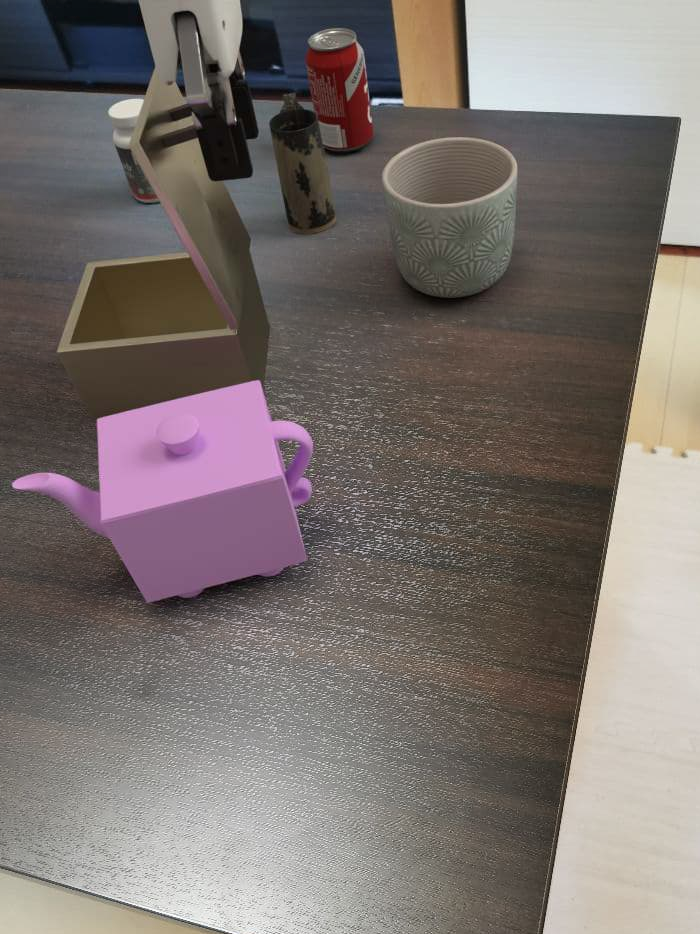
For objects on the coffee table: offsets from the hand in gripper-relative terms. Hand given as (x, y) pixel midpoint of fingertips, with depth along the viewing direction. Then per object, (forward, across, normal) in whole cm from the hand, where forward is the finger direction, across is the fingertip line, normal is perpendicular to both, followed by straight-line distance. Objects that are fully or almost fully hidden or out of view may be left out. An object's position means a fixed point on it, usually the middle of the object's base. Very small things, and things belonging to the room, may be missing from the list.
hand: (235, 155), depth 63 cm
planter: (+20, -12, +16) cm, 29 cm away
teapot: (+20, +21, -5) cm, 30 cm away
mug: (+20, -26, +2) cm, 33 cm away
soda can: (+20, -42, +6) cm, 47 cm away
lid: (+3, 0, -4) cm, 5 cm away
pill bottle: (+20, -35, -18) cm, 44 cm away
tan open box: (+20, 0, -9) cm, 22 cm away
